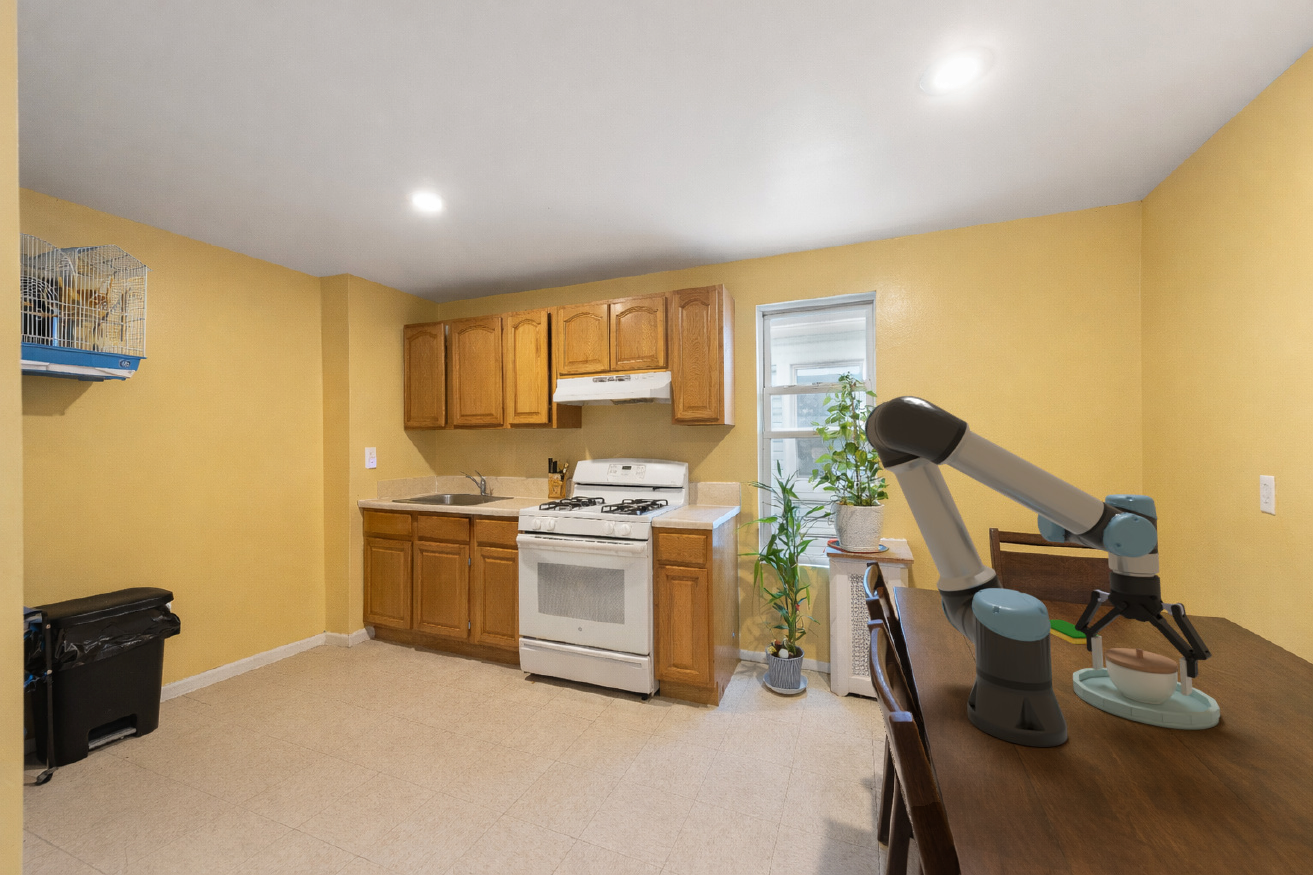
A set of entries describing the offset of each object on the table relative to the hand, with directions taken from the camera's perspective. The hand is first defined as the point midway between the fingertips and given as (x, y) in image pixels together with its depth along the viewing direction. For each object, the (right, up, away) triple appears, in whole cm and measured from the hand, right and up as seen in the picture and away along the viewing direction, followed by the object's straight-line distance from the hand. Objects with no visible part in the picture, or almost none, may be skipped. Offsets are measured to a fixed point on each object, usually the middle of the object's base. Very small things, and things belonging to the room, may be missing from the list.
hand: (1140, 680), depth 104 cm
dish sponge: (+16, -6, +38) cm, 42 cm away
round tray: (0, -4, 0) cm, 4 cm away
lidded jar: (0, -3, 0) cm, 3 cm away
